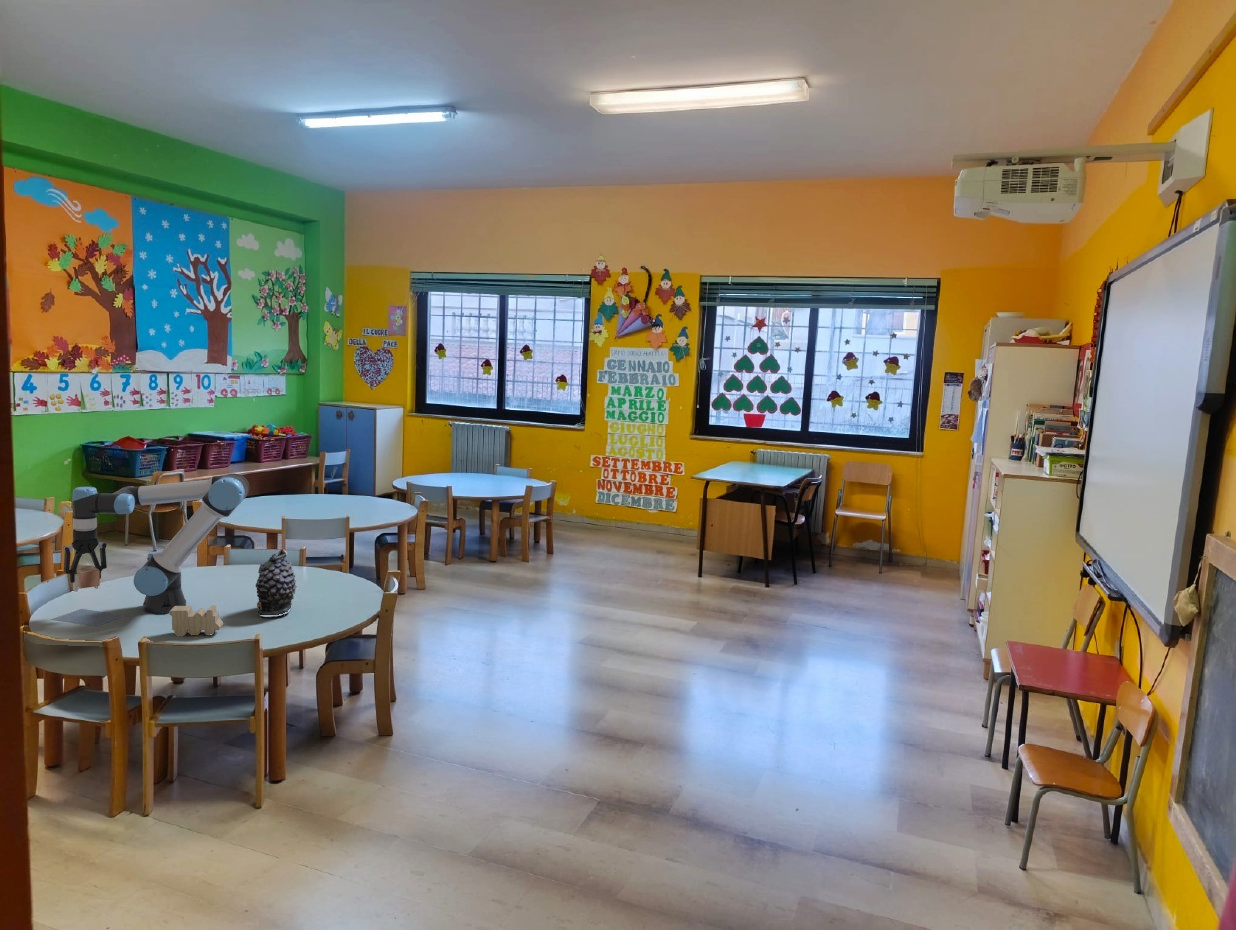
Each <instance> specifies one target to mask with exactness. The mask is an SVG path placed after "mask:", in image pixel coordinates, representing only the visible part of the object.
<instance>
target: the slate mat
mask: <svg viewBox="0 0 1236 930" xmlns="http://www.w3.org/2000/svg"><path fill="white" fill-rule="evenodd" d="M125 616H127V615H126V614H123V613H122V614H120V613H113V612H106V611H101V610H92V609H87V608H80V609H77V610H74V611H71V612H68V613H65V614H63V615H59V616H57V617H54V618H51V619H50V621H57V622H63V623H64V622H65V623H70V624H76V625H83V626H89V627H90V626H91V627H99V626H101V625H104V624H107V623H110V622H112V621H114V620H118V619H120V618H123V617H125Z"/></svg>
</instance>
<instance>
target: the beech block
mask: <svg viewBox="0 0 1236 930" xmlns="http://www.w3.org/2000/svg"><path fill="white" fill-rule="evenodd" d="M70 568H71V565H70ZM75 573H76V574H77V581H78V588H80V589H87V588H94V587H95V586H98V587H100V586H101V585H100V583H101V581H100V580H101V579H100V574H99V570H98V569H97V568H95V566H94V565H92V564H90V563H88V562H87V563H82V564H81V563H80V564H79V563H78V566H77V569H76V572H75Z"/></svg>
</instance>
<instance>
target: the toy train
mask: <svg viewBox="0 0 1236 930" xmlns="http://www.w3.org/2000/svg"><path fill="white" fill-rule="evenodd" d="M168 614H169V615H170V617H171V626H172V627H171V630H172V631H173V633H174V634H175V636H177V637H179V636H182V637H184V636H185V635H186V634H187V633H188V634H190V635H191V636H192V635H197V636H198V635H200V633H202V631H204V634H205V636H207V635H210V634H213V635H214V633H215V632H216V631H220V629H221V628H222V627H223V625H224V622H223V620H222V619H221V618H220V611H217V605H213V604H212V605H210V606H209V608H208V609H207V610H206V609H205V608H199V609H198V610H197V611H193V607H192V605H186V606H174V607H173V608H172V609H171V610H170V611H169V613H168Z"/></svg>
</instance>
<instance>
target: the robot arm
mask: <svg viewBox="0 0 1236 930" xmlns="http://www.w3.org/2000/svg"><path fill="white" fill-rule="evenodd" d="M249 491H250V484H249V481H248V480H247V479H246V477H245V476H243V475H241V474H239V473H226V474H222V475H213V476H211V477H210V478H209V479H201V480H191V481H180V482H171V483H161V484H149V485H140V486H130V485H129V486H124V487H122V488H120V489H119V490H116V491H115V492H113V493H109V492H108V493H104V492H103V493H102V492H98V490H97V488H96V487H94V486H79V487H75V488H74V489H73V490H72V499H71V502H72V529H73V530H72V542H71V544H70V545H66V546H65V545H64V546H62V549H63V552H64V557H63V558H64V559H63V560H64V561H63V572H64V574H68V575H69V582H70V583H71V584H72V591H74V592H78V589H79V587H78V581H77V574H76V573H75V572H76V569H77V566H78V565H79V563H80V560H81V557H82V556H83V555H85V554H89V556H90V559H91V560H92V562H93V566H94V567H95V568H97V569H98V570H99V574H100V580H101V579H102V571H103V570H105V569H107V568H108V566H107V565H108V564H107V553H106V549H107V543H106V542H104V541H100V542H99V540H98V528H97V527H98V514H108V515H109V514H110V515H130V514H132V513H133V511H134V509H135V507H140V506H141V507H142V506H149V505H150V506H151V505H158V504H159V505H161V504H169V503H178V502H189V501H198V500H201V505H200V506H199V507H198V508H197V510H196V511H195V512H194V513H193V514H192V516H191V517H190V518H189V519H188V520H187V521H186V522H185V524H184V525H182V527H181V528H180V530H179V531H178V532H177V533H176V534H175V535H174V536H173V538H172V539H171V540H170V541H169V542H168V543H167V544H166V546H165V547H164V548H163V549H162V550H161V551H151V552H149V553H148V554H147V557H146V560H147V561H146V562H145V563H144V565H143V566H142V567H141V568H138V570H136V572H135V573H134V576H133V586H134V587H135V589H136V591H138V592H139V593H140V594H142V595H144V596H145V598H144V601H143V603H142V611H144V612H145V613H149V614H152V615H154V614H155V615H165V614H169V611H170V610H171V609H172V608H173V607H174V606H187V599H186V598H185V595H184V593H183V589H182V570H183V569H182V565H183V564H184V562H185V561H186V560H187V559H188V558H189V557H190V555H191V554H192V553H193V552H194V551H195V549H196V548H197V547H198V546H199V545H200V544H201V542H203V541H204V540H205V538H206V537H207V536H208V534H209V533H210V532H212V530H213V529H214V528H215V526H216V525H217V524H218V523H219V522H220V521H221V519H223V518H229V517H230V516H231V514H232V513H233V512H234V511H235V510H236V509H237V508H238V506H239V505H240V504H241V503H242V502H243V501H244V500H245V499H246V498H247V497H248V495H249V493H250V492H249ZM97 547H98V548H99V558H100V561H99V559H98V557H97V553H96V552H95V550H96V548H97ZM72 550H74V551H75V553H74V557H73V560H72V563H71V556H72V555H71V552H72ZM70 566H71V568H70ZM93 588H95V589H99V586H95V587H93ZM164 613H165V614H164Z"/></svg>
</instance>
